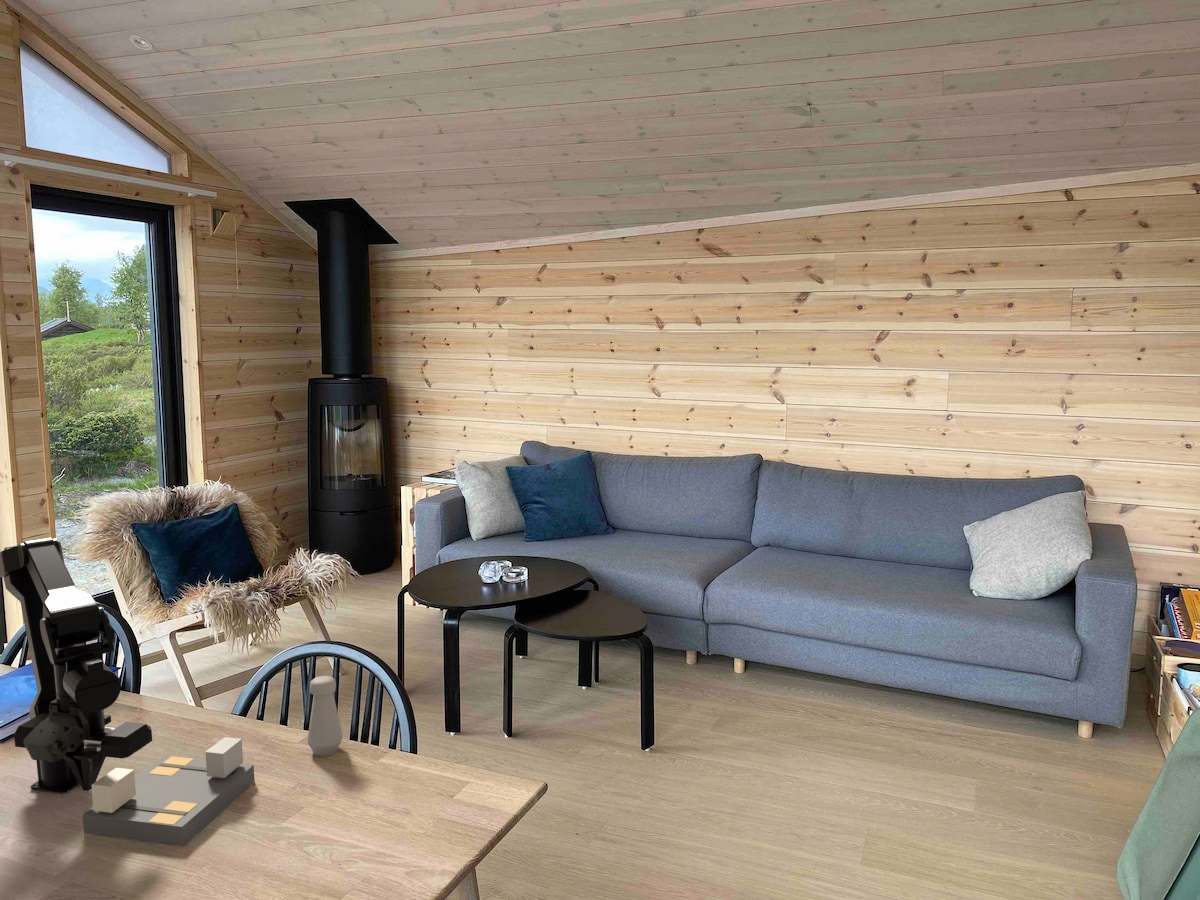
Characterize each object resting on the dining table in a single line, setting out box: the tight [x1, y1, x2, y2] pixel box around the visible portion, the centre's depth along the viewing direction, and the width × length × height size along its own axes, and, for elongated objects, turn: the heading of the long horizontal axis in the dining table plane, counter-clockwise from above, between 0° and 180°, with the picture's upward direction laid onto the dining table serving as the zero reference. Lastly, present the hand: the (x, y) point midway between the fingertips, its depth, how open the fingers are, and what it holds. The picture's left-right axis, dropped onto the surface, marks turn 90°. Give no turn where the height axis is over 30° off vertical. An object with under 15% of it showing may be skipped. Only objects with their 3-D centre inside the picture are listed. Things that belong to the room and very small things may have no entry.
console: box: [82, 754, 256, 847], centre depth 139 cm, size 16×18×3 cm
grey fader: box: [205, 736, 244, 778], centre depth 144 cm, size 3×5×4 cm, turn 169°
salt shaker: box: [307, 675, 343, 757], centre depth 156 cm, size 6×6×13 cm
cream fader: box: [91, 767, 136, 813], centre depth 134 cm, size 3×5×4 cm, turn 169°
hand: (88, 789), depth 135 cm, fingers closed
